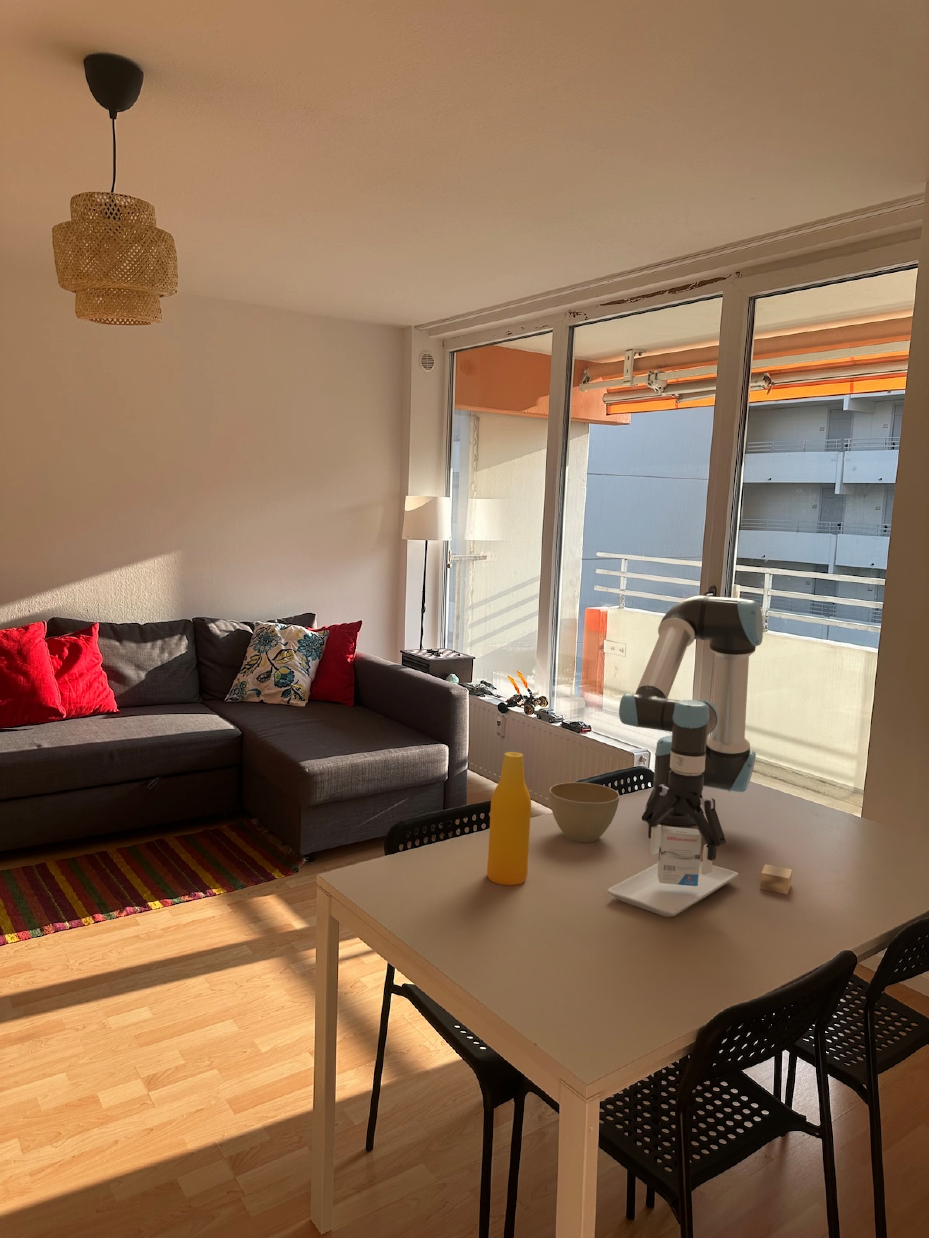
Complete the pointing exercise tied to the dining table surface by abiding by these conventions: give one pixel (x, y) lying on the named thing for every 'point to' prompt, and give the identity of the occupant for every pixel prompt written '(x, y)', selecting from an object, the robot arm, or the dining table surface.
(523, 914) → the dining table surface
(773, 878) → the oak block
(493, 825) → the beer bottle
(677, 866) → the ink box
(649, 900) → the tray
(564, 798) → the beige round bowl
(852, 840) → the dining table surface
